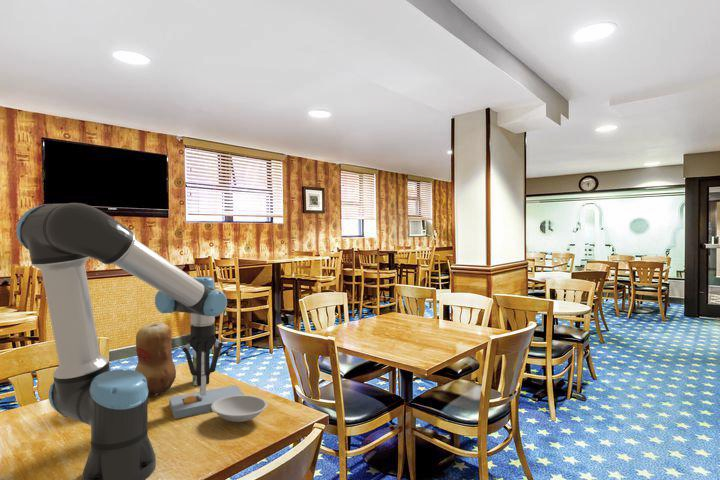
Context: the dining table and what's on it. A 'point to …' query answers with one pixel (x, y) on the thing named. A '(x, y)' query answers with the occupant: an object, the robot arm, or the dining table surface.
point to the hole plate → (200, 401)
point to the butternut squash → (155, 357)
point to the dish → (239, 407)
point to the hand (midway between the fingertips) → (202, 394)
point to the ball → (189, 400)
